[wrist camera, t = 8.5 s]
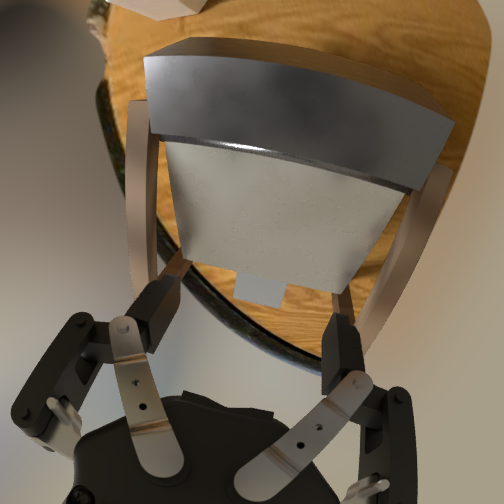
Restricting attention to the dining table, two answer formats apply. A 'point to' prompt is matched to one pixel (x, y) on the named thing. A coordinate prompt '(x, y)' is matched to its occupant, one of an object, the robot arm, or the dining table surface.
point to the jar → (162, 7)
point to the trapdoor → (287, 154)
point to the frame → (372, 314)
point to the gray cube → (259, 290)
